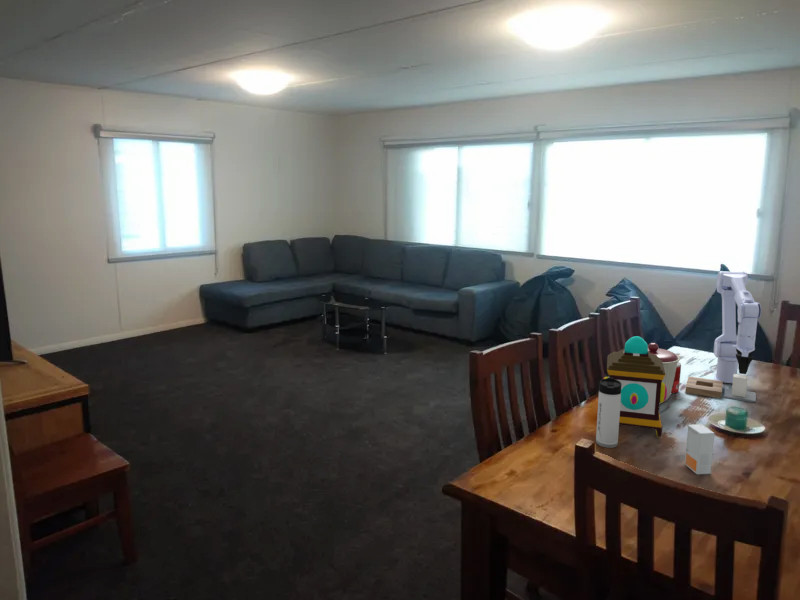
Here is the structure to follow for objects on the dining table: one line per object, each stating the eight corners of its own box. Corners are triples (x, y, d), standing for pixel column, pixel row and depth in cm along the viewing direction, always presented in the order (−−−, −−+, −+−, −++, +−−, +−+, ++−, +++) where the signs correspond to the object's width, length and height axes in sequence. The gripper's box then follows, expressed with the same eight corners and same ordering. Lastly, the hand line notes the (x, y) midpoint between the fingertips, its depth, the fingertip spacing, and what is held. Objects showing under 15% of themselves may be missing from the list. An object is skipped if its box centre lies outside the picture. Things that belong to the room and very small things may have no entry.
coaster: (725, 389, 222) (725, 388, 222) (755, 394, 217) (755, 392, 217) (724, 397, 214) (724, 396, 214) (755, 402, 209) (756, 400, 209)
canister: (669, 411, 201) (674, 352, 198) (616, 400, 212) (620, 344, 208) (681, 396, 216) (686, 341, 212) (631, 387, 226) (634, 334, 222)
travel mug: (617, 440, 178) (621, 378, 174) (617, 449, 172) (622, 385, 168) (595, 437, 180) (599, 376, 176) (595, 446, 174) (599, 383, 170)
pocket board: (688, 382, 231) (688, 376, 231) (722, 387, 225) (722, 381, 225) (685, 392, 219) (685, 386, 219) (721, 398, 214) (721, 391, 213)
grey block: (731, 391, 219) (733, 373, 218) (745, 393, 217) (747, 375, 215) (731, 394, 215) (733, 376, 214) (745, 397, 213) (747, 378, 212)
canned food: (674, 387, 226) (676, 359, 224) (682, 394, 218) (684, 366, 216) (654, 386, 227) (656, 359, 225) (661, 393, 219) (663, 365, 217)
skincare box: (683, 464, 162) (687, 424, 160) (698, 463, 163) (702, 423, 160) (696, 475, 156) (700, 433, 154) (711, 474, 157) (715, 432, 154)
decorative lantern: (597, 432, 185) (603, 341, 179) (599, 410, 203) (604, 327, 197) (666, 440, 178) (674, 346, 172) (661, 417, 196) (668, 331, 190)
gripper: (734, 329, 219) (730, 364, 222) (733, 338, 207) (729, 374, 210) (755, 331, 216) (751, 366, 219) (756, 340, 204) (752, 377, 206)
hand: (742, 370), depth 214 cm, fingers open, 7 cm apart
